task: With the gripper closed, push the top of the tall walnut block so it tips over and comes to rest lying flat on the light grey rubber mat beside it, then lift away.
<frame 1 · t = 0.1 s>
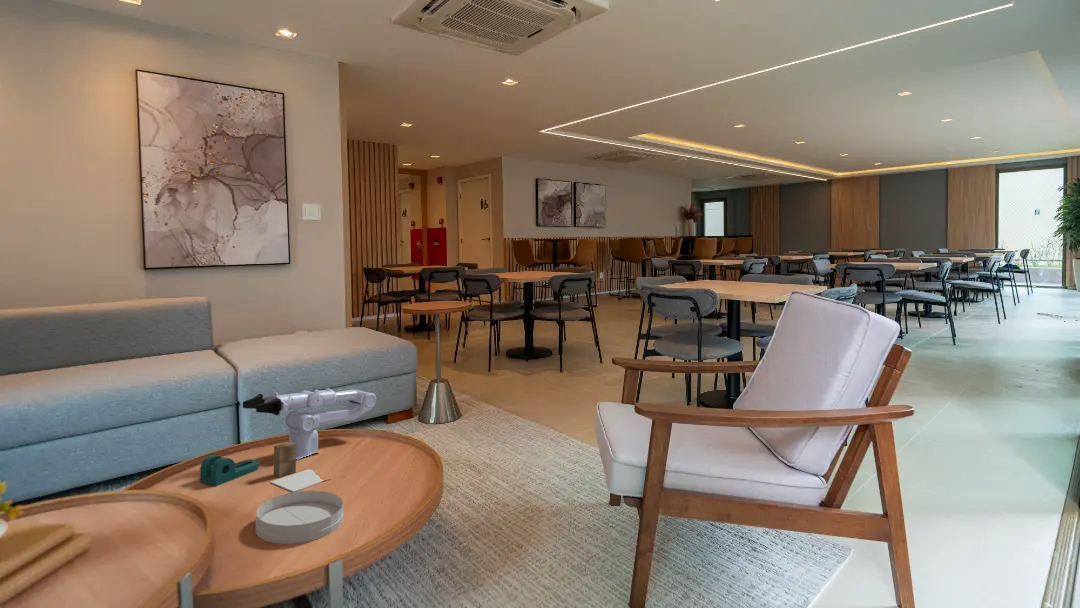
hand: (250, 406, 186), 22 cm above the table, tool horizontal, fingers open, 7 cm apart
dish: (300, 525, 153), on the table
bracket: (233, 476, 183), on the table
walnut block: (284, 474, 186), on the table
grey mat: (301, 480, 181), on the table
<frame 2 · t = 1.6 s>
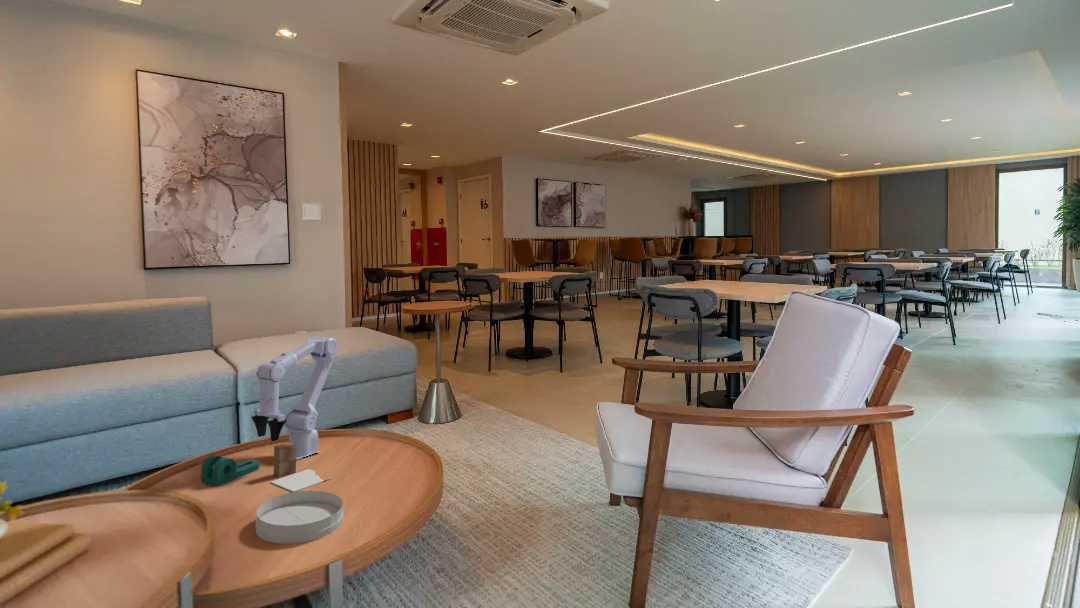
hand: (268, 438, 189), 10 cm above the table, tool pointing down, fingers open, 7 cm apart
nothing on the table moved.
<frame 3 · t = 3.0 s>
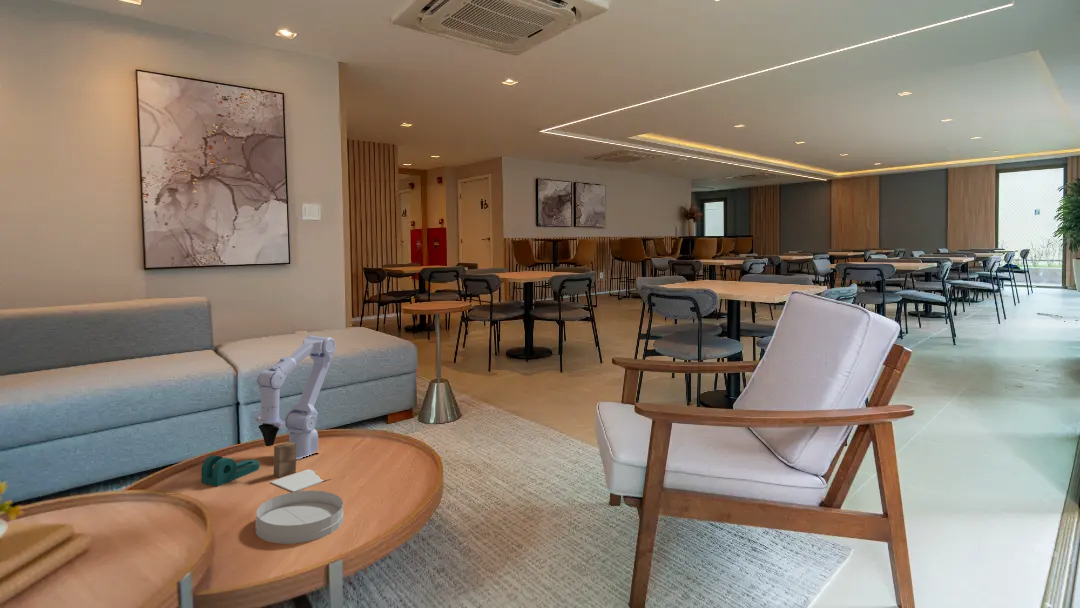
hand: (269, 445, 190), 8 cm above the table, tool pointing down, fingers closed
nothing on the table moved.
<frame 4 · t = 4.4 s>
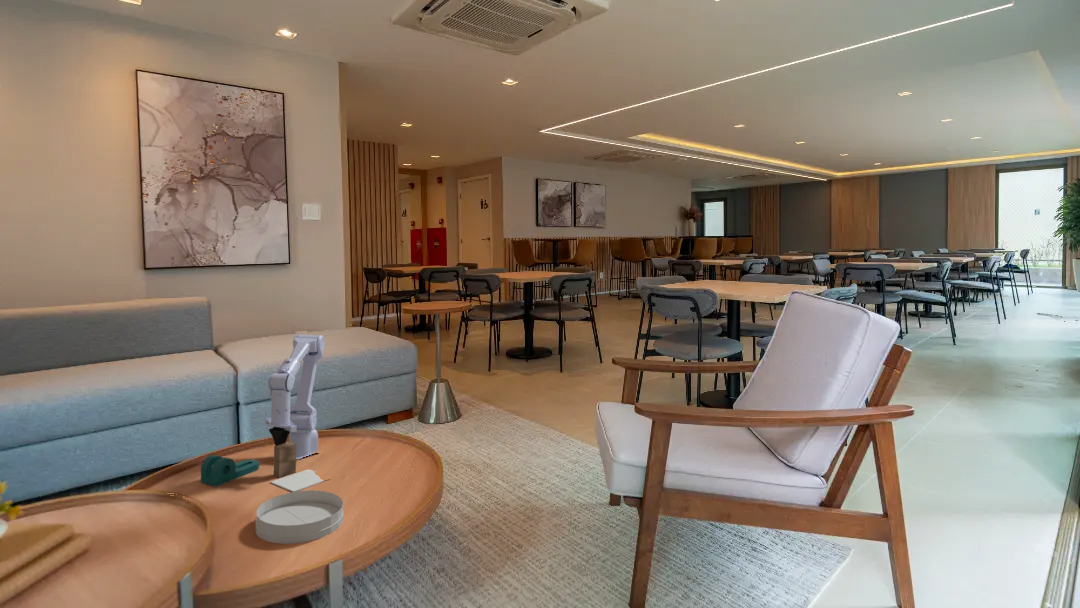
hand: (280, 449, 187), 8 cm above the table, tool pointing down, fingers closed
walnut block: (284, 474, 186), on the table, touching gripper
everything else where it was.
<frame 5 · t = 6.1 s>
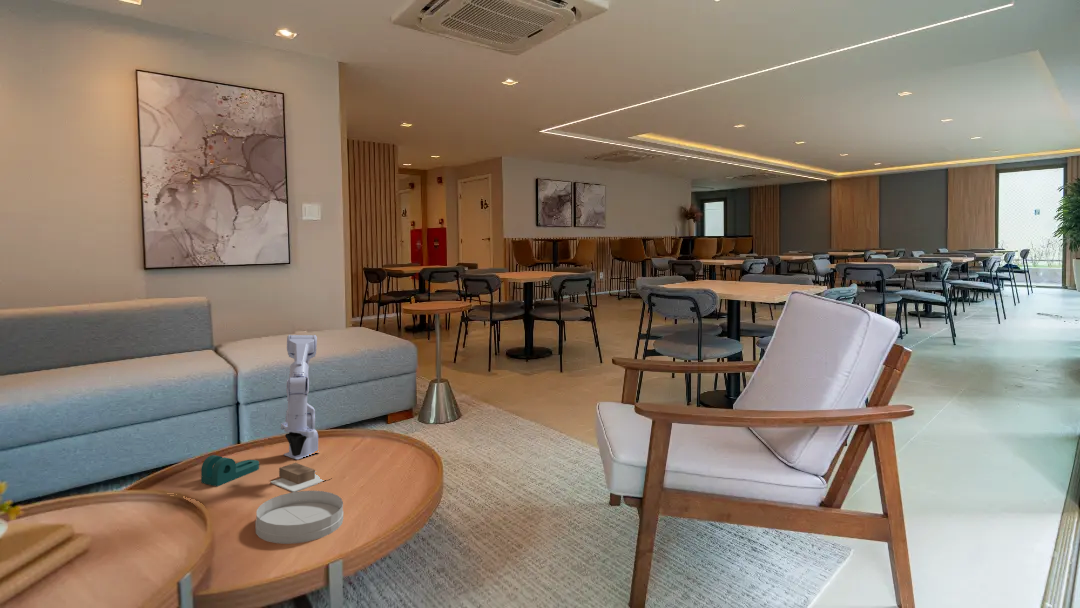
hand: (296, 454, 182), 8 cm above the table, tool pointing down, fingers closed
walnut block: (287, 469, 185), point 2 cm above the table, tilted 90°, touching grey mat
everything else where it was.
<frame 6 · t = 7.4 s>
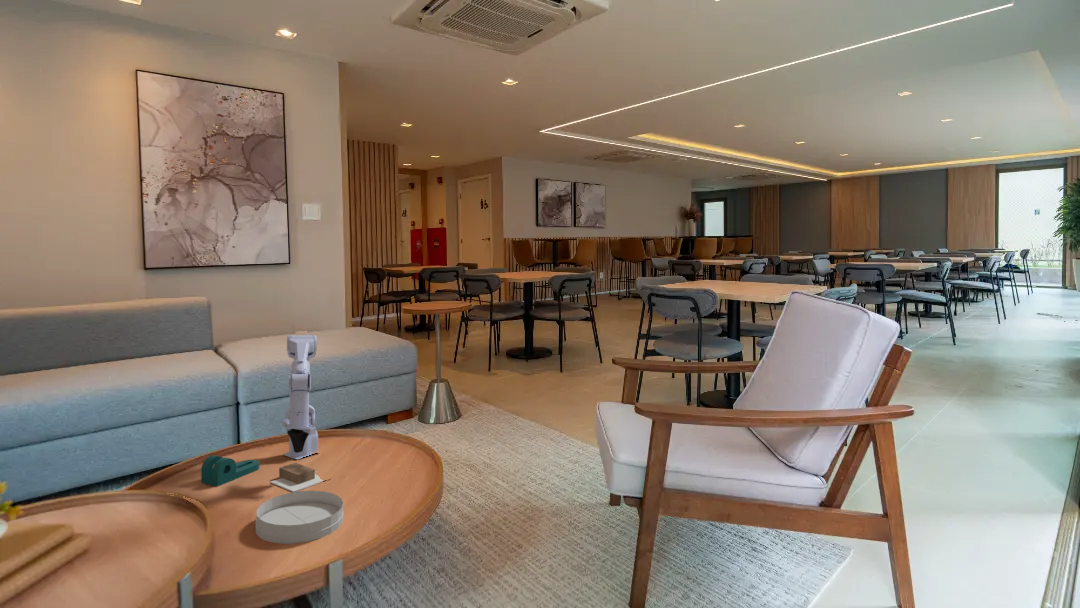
hand: (298, 451, 182), 9 cm above the table, tool pointing down, fingers closed
nothing on the table moved.
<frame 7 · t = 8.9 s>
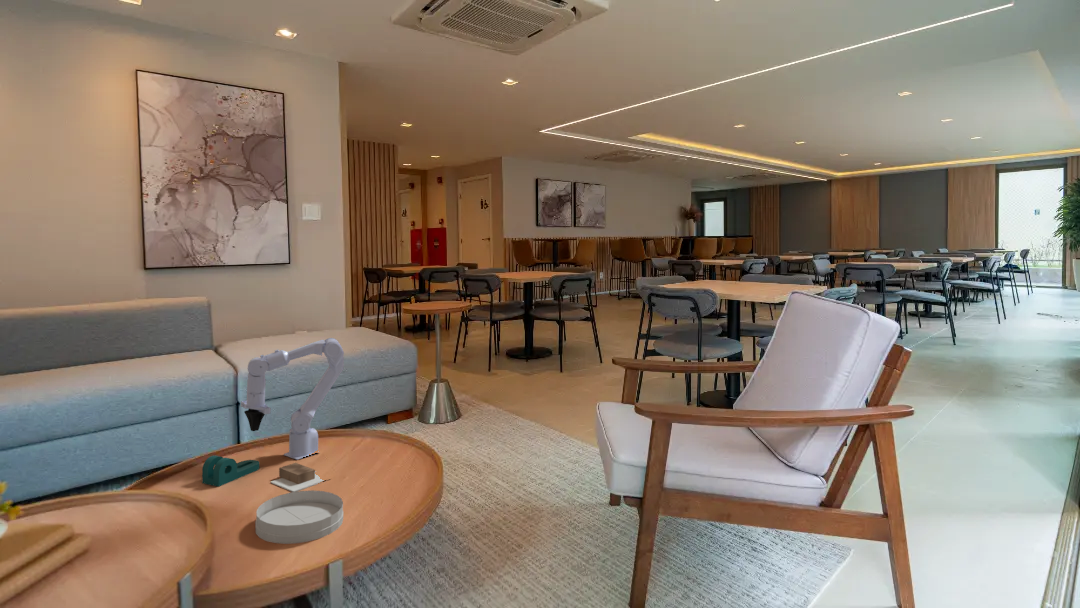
hand: (254, 430, 197), 10 cm above the table, tool pointing down, fingers closed
nothing on the table moved.
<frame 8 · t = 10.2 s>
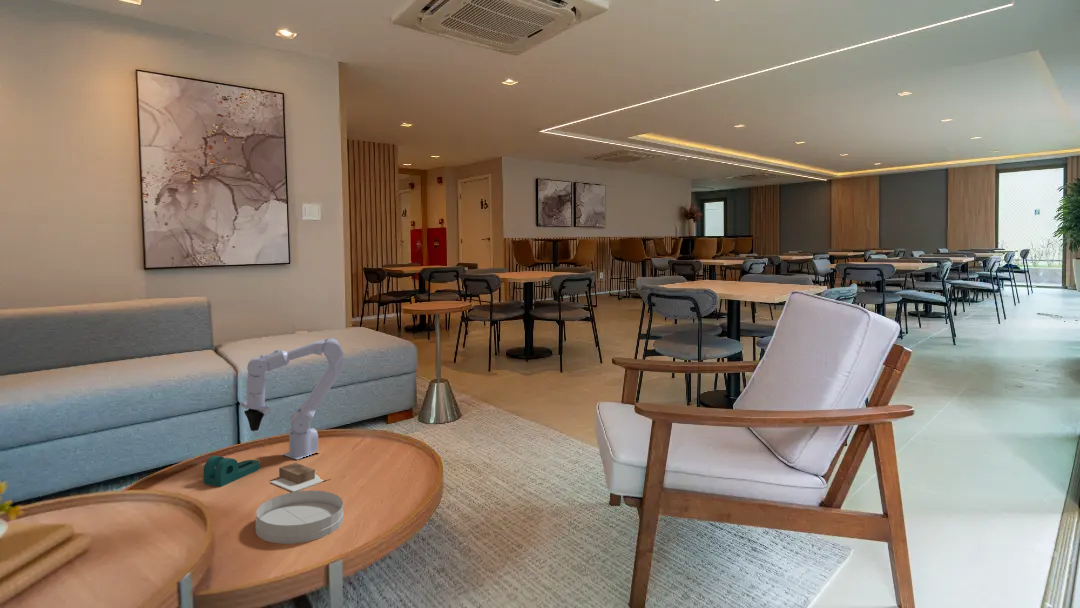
hand: (254, 430, 197), 10 cm above the table, tool pointing down, fingers closed
nothing on the table moved.
at the end: walnut block tilted 90°; walnut block touching grey mat; walnut block inside the target area (3.0 cm from its centre), point 1.9 cm above the table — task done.
